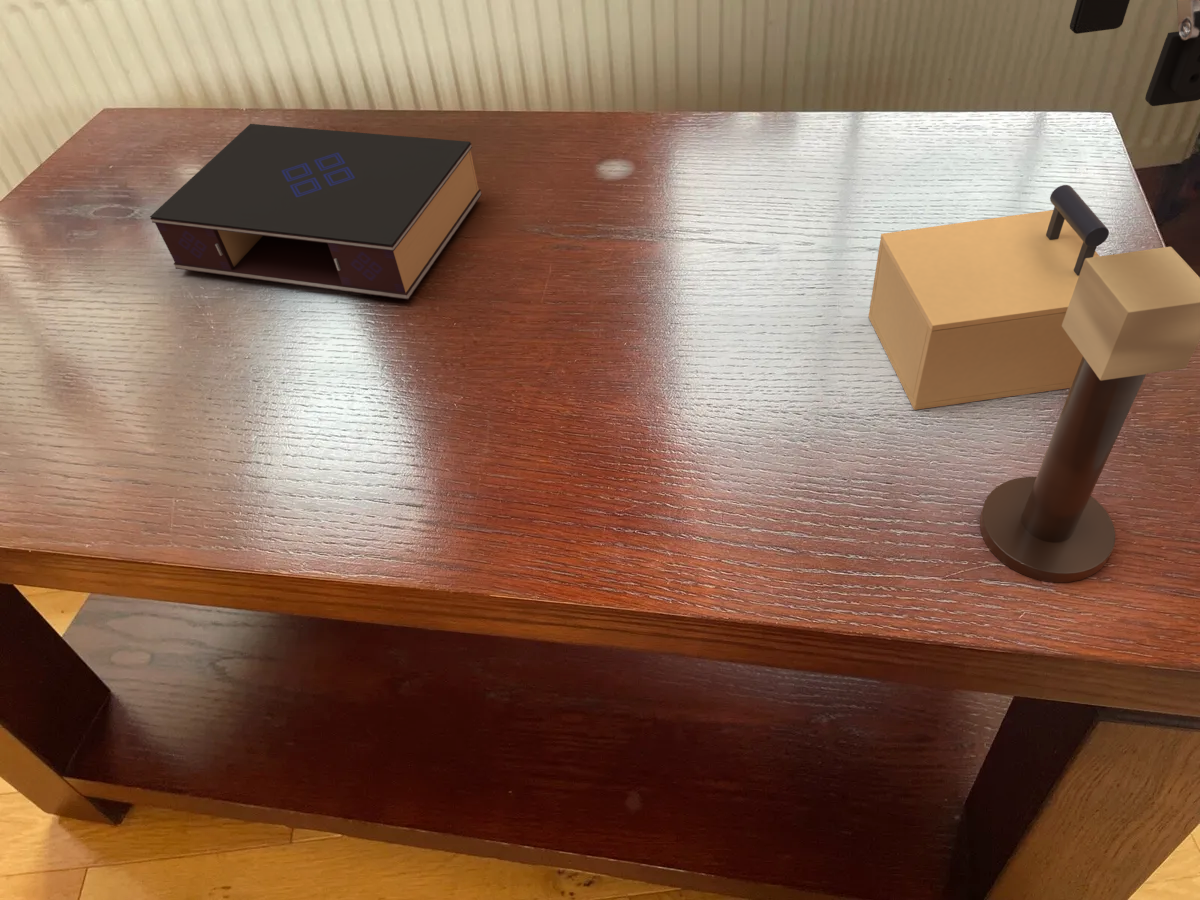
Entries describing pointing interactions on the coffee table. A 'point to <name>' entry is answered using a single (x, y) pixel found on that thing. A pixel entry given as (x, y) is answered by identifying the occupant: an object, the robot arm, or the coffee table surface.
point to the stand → (1063, 489)
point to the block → (1135, 313)
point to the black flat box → (322, 209)
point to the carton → (967, 349)
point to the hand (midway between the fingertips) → (1131, 63)
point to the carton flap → (998, 263)
